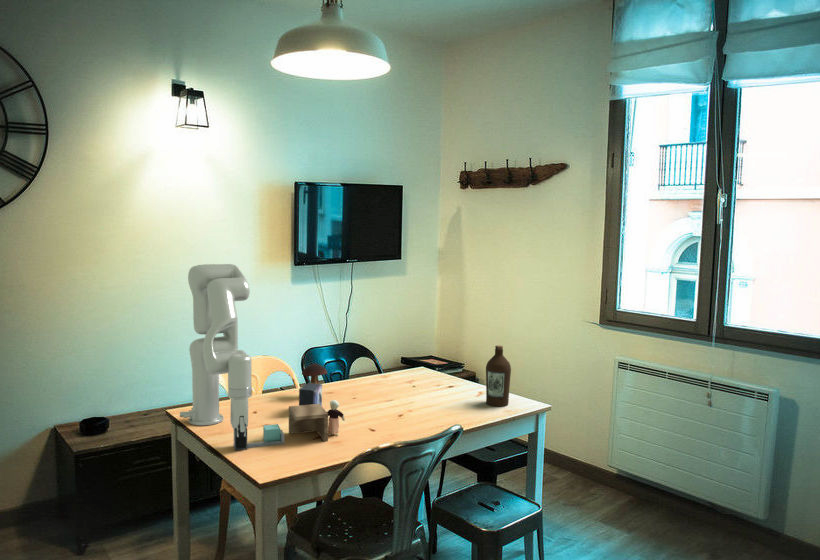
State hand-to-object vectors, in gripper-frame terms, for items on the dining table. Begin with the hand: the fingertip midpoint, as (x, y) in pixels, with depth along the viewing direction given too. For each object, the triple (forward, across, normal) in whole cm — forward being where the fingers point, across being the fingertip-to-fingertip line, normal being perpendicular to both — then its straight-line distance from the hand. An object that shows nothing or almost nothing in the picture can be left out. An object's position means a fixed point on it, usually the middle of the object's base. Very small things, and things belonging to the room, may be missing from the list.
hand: (240, 445), depth 213 cm
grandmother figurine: (+1, -4, +33) cm, 33 cm away
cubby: (+1, -4, +24) cm, 24 cm away
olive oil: (+1, -22, +109) cm, 111 cm away
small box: (+1, -34, +31) cm, 46 cm away
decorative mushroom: (+1, -54, +37) cm, 65 cm away
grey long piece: (+1, -1, +6) cm, 7 cm away
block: (+1, -4, +11) cm, 12 cm away
